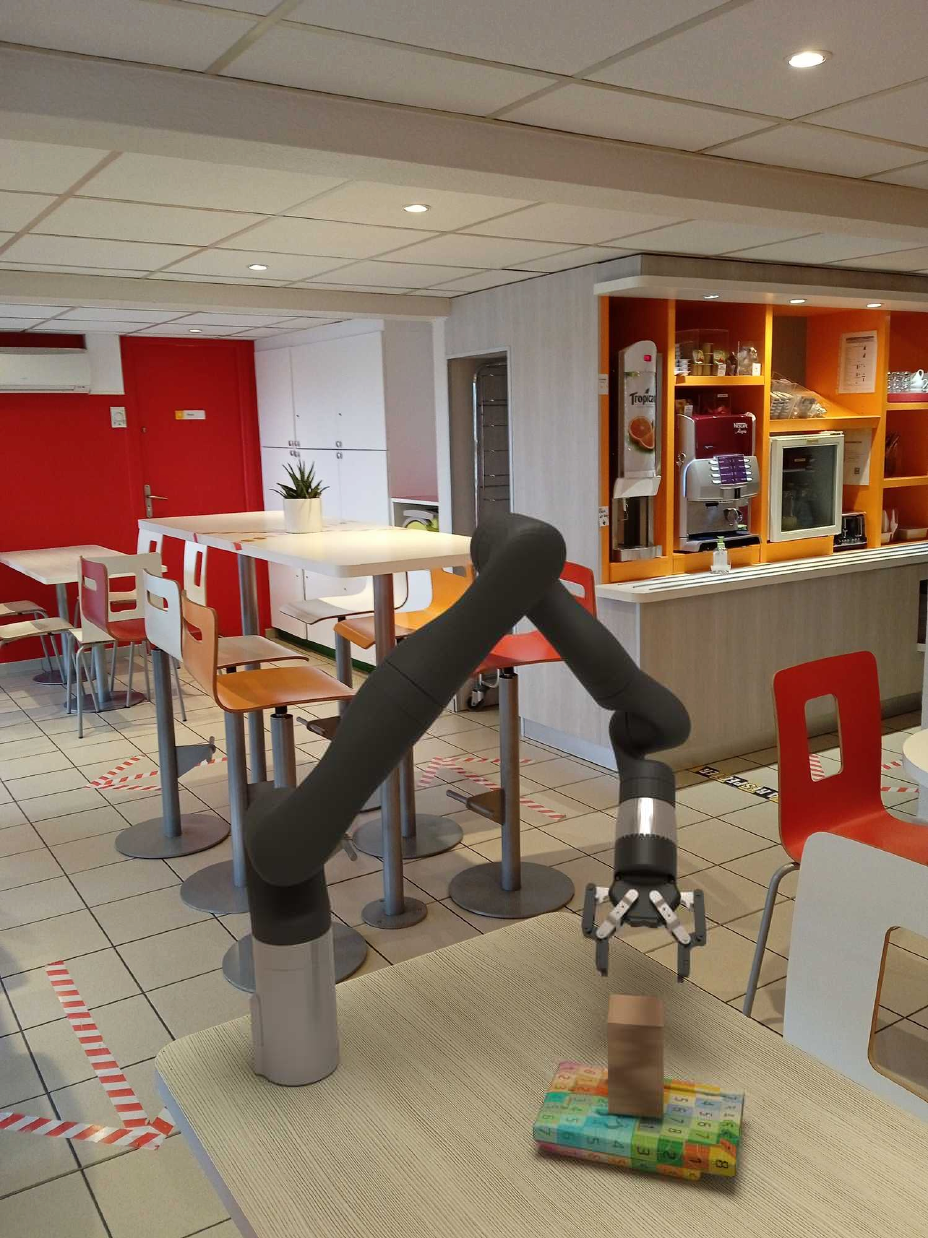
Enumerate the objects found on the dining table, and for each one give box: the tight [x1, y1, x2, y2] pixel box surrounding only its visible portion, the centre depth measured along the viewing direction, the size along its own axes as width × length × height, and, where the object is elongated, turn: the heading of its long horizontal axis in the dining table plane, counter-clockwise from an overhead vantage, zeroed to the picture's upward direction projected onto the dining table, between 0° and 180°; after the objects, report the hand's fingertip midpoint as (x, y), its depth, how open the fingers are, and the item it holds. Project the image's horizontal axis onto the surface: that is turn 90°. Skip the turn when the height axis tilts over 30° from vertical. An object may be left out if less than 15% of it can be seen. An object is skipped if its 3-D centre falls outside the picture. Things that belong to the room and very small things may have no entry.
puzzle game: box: [532, 1060, 746, 1181], centre depth 107 cm, size 12×5×20 cm
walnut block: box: [606, 993, 665, 1118], centre depth 106 cm, size 6×6×10 cm
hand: (642, 978), depth 117 cm, fingers open, 8 cm apart
